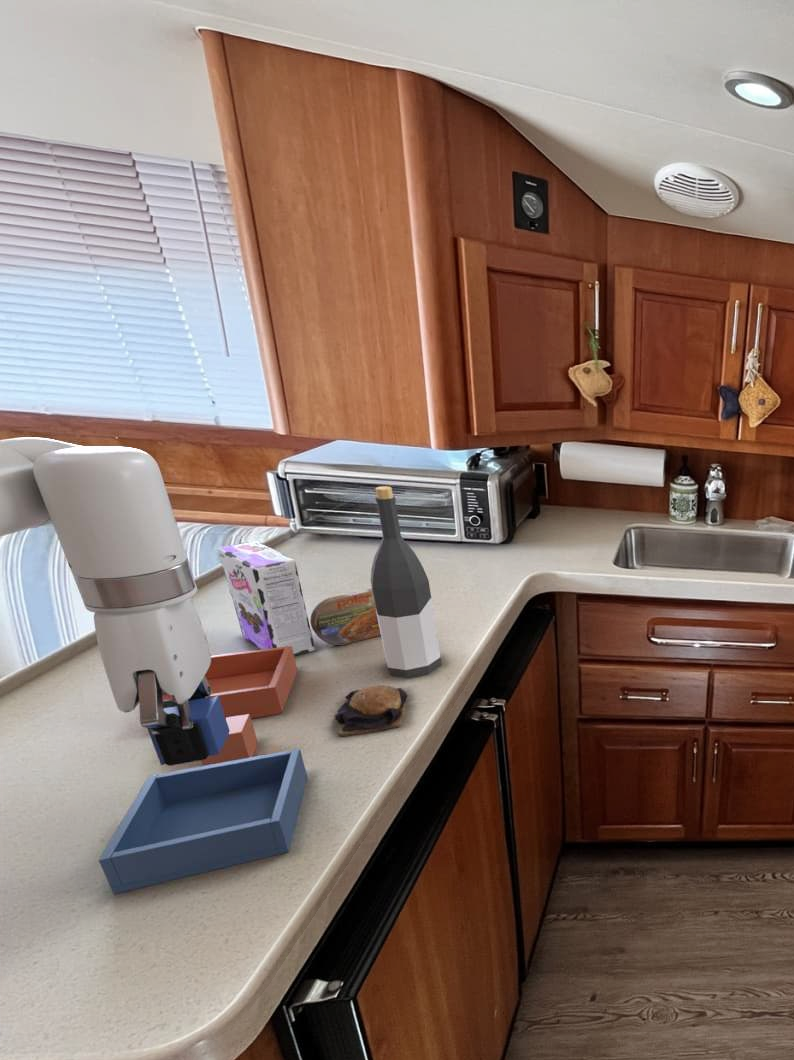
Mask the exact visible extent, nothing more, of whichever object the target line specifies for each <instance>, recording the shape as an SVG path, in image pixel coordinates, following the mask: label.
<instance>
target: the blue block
mask: <svg viewBox="0 0 794 1060" xmlns="http://www.w3.org/2000/svg"><path fill="white" fill-rule="evenodd" d="M188 702H189V706H190V711H191V715H192V719H193V724H195V723H199V726H200V729H201V732H202V735H203V738H204V740H205V743H206V746H207V749H208V752H209V755H208V756H213V755H218V754H220V751H221V749H222V747H223V745H224V743H225V741H226V739H227V736H228V734H229V732H230V730H229V727H228V724H227V721H226V718H225V715H224V712H223V709H222V705H221V702H220V699H219V697H218V696H217V697H210V698H203V699H196V700H190V701H188ZM163 709H164V712H166V713H167V714H170V713H174V714H176V715H178V716H179V712H178V708H177V706H176V707H169V708H163ZM146 729H147V732H148V734H149V737H150V740H151V742H152V744H153V748H154V750H155V752H156V755H157V758H158V760H159V762H160V765H161V766H162V765H166V764H165V762H164V759H163V756H162V754H161V751H160V749H159V746H158V743H157V741H156V738H155V735H153V734H152V732H151V729H150V728H146Z"/></svg>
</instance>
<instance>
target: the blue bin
mask: <svg viewBox="0 0 794 1060" xmlns="http://www.w3.org/2000/svg"><path fill="white" fill-rule="evenodd" d="M303 758H304V757H303V755H302V751H301V748H295V749H294V748H293V749H289V750H283V751H278V752H274V753H273V752H272V753H268V754H267V753H266V754H261V755H256V756H253V757H250V758H244V759H239V760H233V761H228V762H222V763H217V764H211V765H206V766H203V765H202V766H195V767H191V768H190V767H189V768H184V769H179V770H174V771H168V772H162V773H158V774H152V775H148V777H147V778H146V779H145V781H144V783H143V785H142V786H141V788H140V790H139V791H138V793H137V795H136V796H135V798H134V800H133V801H132V804H131V805H130V807H129V808H128V810H127V811H126V814H125V815H124V817H123V819H122V820H121V822H120V824H119V825H118V827H117V829H116V831H115V832H114V834H113V836H112V838H111V839H110V841H109V842H108V844H107V845H106V847H105V850H103V853H102V854H101V856H100V858H99V859H98V862H99V866H100V867H101V869H102V871H103V874H104V876H105V879H106V880H107V883H108V884H109V887H110V889H111V892H112V894H113V895H116V894H121V893H126V892H128V891H133V890H137V889H141V888H145V887H150V886H154V885H158V884H161V883H166V882H170V881H175V880H179V879H183V878H186V877H190V876H195V875H199V874H203V873H208V872H211V871H216V870H220V869H224V868H228V867H232V866H236V865H241V864H244V863H249V862H254V861H257V860H262V859H265V858H269V857H273V856H277V855H282V854H287V853H289V852H290V848H291V844H292V841H293V836H294V832H295V829H296V824H297V820H298V816H299V812H300V808H301V804H302V801H303V796H304V792H305V789H306V784H307V781H308V773H307V769H306V766H305V761H304V759H303Z"/></svg>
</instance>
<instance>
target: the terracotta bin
mask: <svg viewBox="0 0 794 1060" xmlns="http://www.w3.org/2000/svg"><path fill="white" fill-rule="evenodd" d="M298 669H299V668H298V665H297V661H296V656H294V653H293V649H292V646H286V647H279V648H270V649H262V650H261V649H256V650H247V651H239V652H229V653H220V654H213V655H211V663H210V666H209V668H208V670H207V672H206V675H205V677H206V679H207V681H208V683H209V685H210V688H211V696H209V697H217V696H218V697H219V699H220V702H221V705H222V709H223V712H224V715H225V718H227V717H233V716H239V715H246V714H250V717H251V719H254V718H261V717H266V716H267V717H268V716H273V715H278V714H283V712H284V709H285V707H286V704H287V701H288V698H289V696H290V692H291V690H292V687H293V684H294V682H295V678H296V675H297V673H298V671H299V670H298ZM209 697H206V698H209ZM162 698H163V700H167V699H173V697H172V695H165V696H162Z"/></svg>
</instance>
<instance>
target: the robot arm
mask: <svg viewBox="0 0 794 1060" xmlns="http://www.w3.org/2000/svg"><path fill="white" fill-rule="evenodd" d="M48 525H53V528H54V530H55V533H56V536H57V539H58V541H59V544H60V546H61V549H62V551H63V554H64V556H65V559H66V562H67V564H68V567H69V569H70V571H71V574H72V576H73V580H74V582H75V585H76V586H77V589H78V591H79V594H80V596H81V600H82V603H83V605H84V607H85V609H86V611H89V612H91V613H93V622H94V630H95V631H94V632H95V636H96V641H97V646H98V649H99V654H100V657H101V661H102V665H103V667H104V671H105V674H106V677H107V681H108V684H109V688H110V690H111V693H112V696H113V698H114V702H115V704H116V705H115V706H116V707H117V708H118V710H119V711H121V712H122V713H130V712H132V711H134V710H135V709H136V708H137V706H138V707H139V724H140V727H143V728H146V729H147V728H150V729H151V732H152V734H153V735H155V738H156V741H157V743H158V746H159V749H160V751H161V754H162V756H163V759H164V762H165V764H164V765H166V766H169V767H171V766H176V765H177V766H178V765H182V764H183V765H184V764H187V763H193V762H199V761H201V760H204V759H206V758H207V757H208V755H209V752H208V749H207V746H206V743H205V740H204V738H203V735H202V732H201V729H200V726H199V723H195V724H193V719H192V715H191V711H190V706H189V702H188V701H190V700H196V699H203V698H206V697H209V696H211V688H210V685H209V683H208V681H207V679H206V677H205V675H206V672H207V670H208V668H209V666H210V663H211V656H212V655H211V650H210V646H209V641H208V639H207V635H206V633H205V630H204V628H203V627H204V626H203V625H202V623H201V619H200V617H199V614H198V612H197V611H198V610H197V609H196V606H195V604H194V602H193V599H192V597H194V596H196V594H197V593H198V587H197V584H196V583H197V582H196V580H195V577H194V574H193V571H192V568H191V564H190V561H189V559H188V555H187V552H186V549H185V546H184V542H183V539H182V536H181V532H180V529H179V526H178V522H177V520H176V517H175V514H174V510H173V507H172V504H171V501H170V497H169V494H168V490H167V488H166V485H165V481H164V478H163V475H162V472H161V470H160V467H159V464H158V463H157V461H156V460H155V458H154V457H153V456H152V455H151V454H149V453H148V452H146V451H143V450H141V449H138V448H133V447H127V446H111V445H109V446H106V445H105V446H101V445H100V446H85V445H79V444H74V443H71V442H70V443H69V442H65V441H61V440H55V439H51V438H45V437H29V436H28V437H25V436H23V437H14V438H12V437H11V438H4V439H0V537H3V536H7V535H11V534H14V533H18V532H22V531H26V530H29V529H35V528H39V527H44V526H48ZM165 695H172V697H173V699H167V700H163V698H162V696H165ZM209 698H210V697H209ZM176 706H177V708H178V712H179V716H178V715H176V714H174V713H170V714H167V713H166V712H164V709H163V708H169V707H176Z"/></svg>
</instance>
